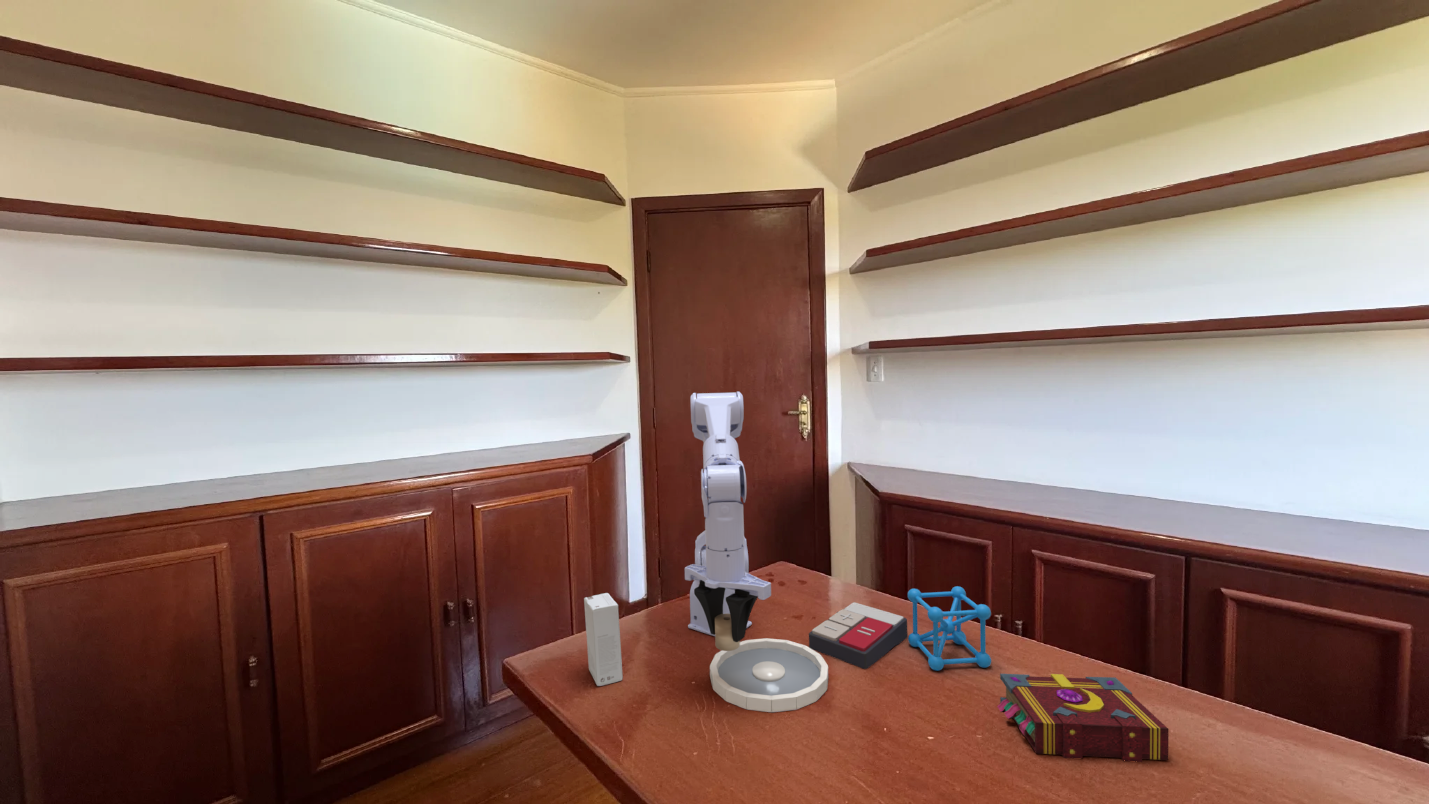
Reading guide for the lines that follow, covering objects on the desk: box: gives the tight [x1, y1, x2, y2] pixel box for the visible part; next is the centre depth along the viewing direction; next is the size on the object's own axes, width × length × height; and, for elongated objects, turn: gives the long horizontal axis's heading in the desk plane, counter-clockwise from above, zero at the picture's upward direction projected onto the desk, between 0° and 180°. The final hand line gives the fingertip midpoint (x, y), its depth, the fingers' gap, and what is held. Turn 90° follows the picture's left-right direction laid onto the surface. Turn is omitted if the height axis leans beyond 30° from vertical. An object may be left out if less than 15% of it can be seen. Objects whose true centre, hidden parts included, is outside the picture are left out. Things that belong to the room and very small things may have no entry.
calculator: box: [808, 602, 909, 670], centre depth 98 cm, size 11×4×15 cm
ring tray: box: [709, 637, 829, 713], centre depth 87 cm, size 18×18×2 cm
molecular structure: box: [907, 585, 992, 672], centre depth 92 cm, size 10×10×10 cm
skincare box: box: [583, 592, 624, 687], centre depth 89 cm, size 6×4×12 cm
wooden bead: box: [714, 614, 741, 651], centre depth 83 cm, size 4×4×4 cm
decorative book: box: [997, 672, 1169, 763], centre depth 72 cm, size 11×16×5 cm
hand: (727, 635), depth 83 cm, fingers closed on wooden bead, 4 cm apart
